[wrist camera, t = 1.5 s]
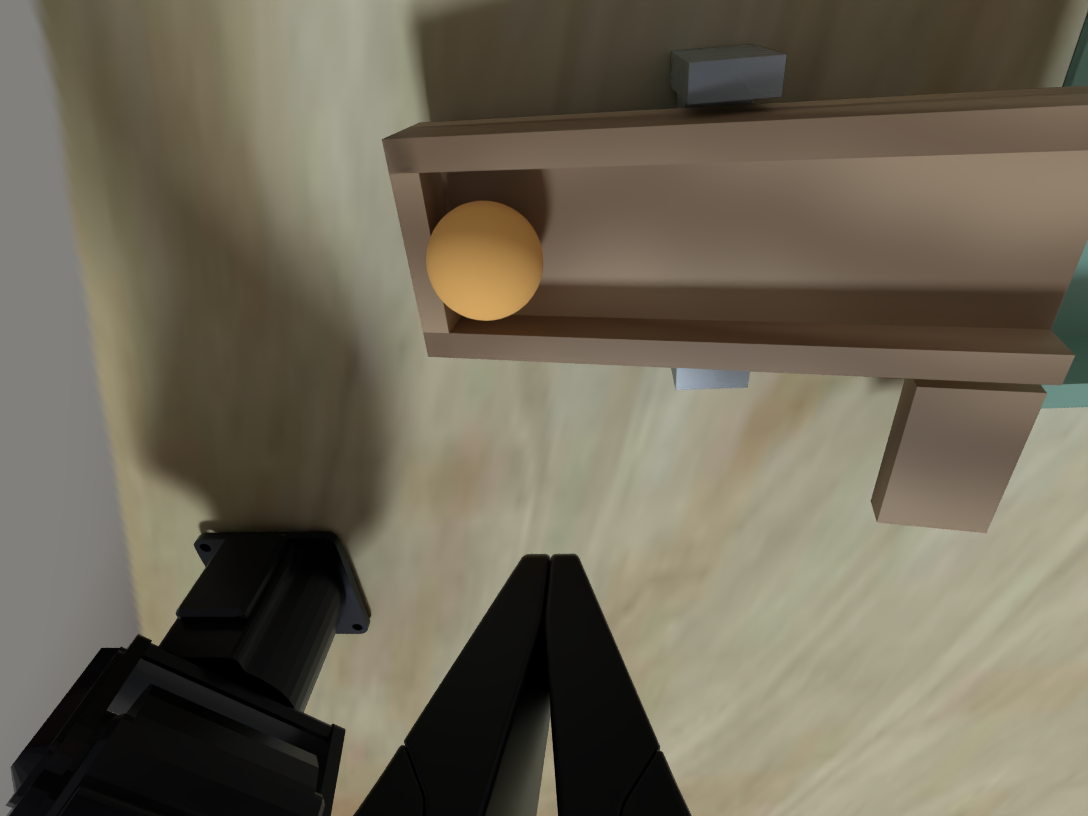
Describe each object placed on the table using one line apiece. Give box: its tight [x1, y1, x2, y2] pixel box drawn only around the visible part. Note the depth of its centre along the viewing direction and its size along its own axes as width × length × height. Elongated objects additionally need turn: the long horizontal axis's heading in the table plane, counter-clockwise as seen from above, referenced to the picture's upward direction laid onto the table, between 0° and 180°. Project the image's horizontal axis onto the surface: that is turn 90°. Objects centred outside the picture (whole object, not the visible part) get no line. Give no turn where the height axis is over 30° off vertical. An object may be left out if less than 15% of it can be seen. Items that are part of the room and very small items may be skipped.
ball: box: [426, 201, 543, 321], centre depth 16 cm, size 3×3×3 cm
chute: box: [382, 86, 1088, 533], centre depth 17 cm, size 12×16×2 cm
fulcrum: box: [670, 44, 787, 390], centre depth 17 cm, size 8×2×4 cm, turn 5°
